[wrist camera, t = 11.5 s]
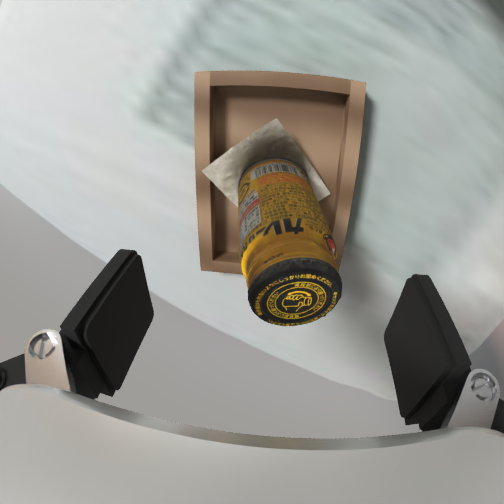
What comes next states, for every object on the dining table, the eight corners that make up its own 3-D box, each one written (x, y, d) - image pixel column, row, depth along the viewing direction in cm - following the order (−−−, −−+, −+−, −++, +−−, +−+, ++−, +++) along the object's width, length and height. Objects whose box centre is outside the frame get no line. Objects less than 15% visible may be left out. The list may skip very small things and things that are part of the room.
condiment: (263, 233, 28) (277, 347, 19) (201, 169, 23) (182, 282, 14) (330, 192, 25) (379, 299, 16) (275, 116, 20) (314, 201, 11)
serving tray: (203, 73, 21) (194, 72, 19) (358, 83, 20) (366, 82, 18) (206, 257, 30) (200, 270, 28) (332, 266, 29) (336, 281, 27)
